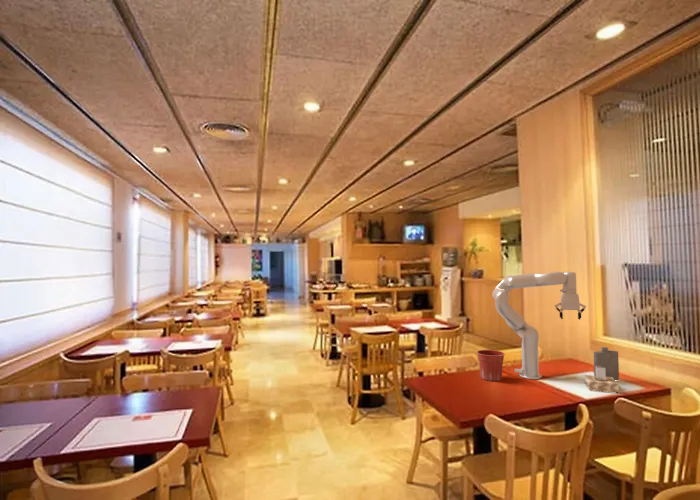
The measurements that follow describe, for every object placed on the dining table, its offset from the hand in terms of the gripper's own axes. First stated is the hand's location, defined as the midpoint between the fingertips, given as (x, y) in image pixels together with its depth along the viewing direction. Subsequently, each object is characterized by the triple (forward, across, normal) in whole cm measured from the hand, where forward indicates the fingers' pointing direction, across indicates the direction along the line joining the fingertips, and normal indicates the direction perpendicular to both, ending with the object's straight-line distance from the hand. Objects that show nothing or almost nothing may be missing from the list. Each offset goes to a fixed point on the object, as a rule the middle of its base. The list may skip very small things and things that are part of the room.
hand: (570, 319), depth 247 cm
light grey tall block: (+35, +12, -18) cm, 41 cm away
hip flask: (+36, +18, -1) cm, 41 cm away
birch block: (+36, +12, -18) cm, 42 cm away
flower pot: (+37, -47, -18) cm, 62 cm away
